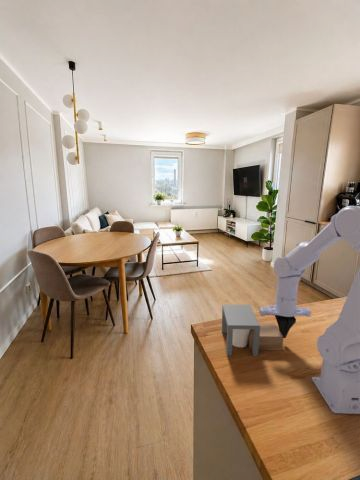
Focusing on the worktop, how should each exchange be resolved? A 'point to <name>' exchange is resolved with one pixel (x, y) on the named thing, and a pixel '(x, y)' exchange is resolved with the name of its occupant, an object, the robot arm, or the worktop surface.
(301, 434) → the worktop surface
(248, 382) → the worktop surface
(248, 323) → the grey tunnel arch
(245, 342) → the white cylinder
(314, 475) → the worktop surface
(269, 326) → the tan wooden chunk
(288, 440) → the worktop surface
